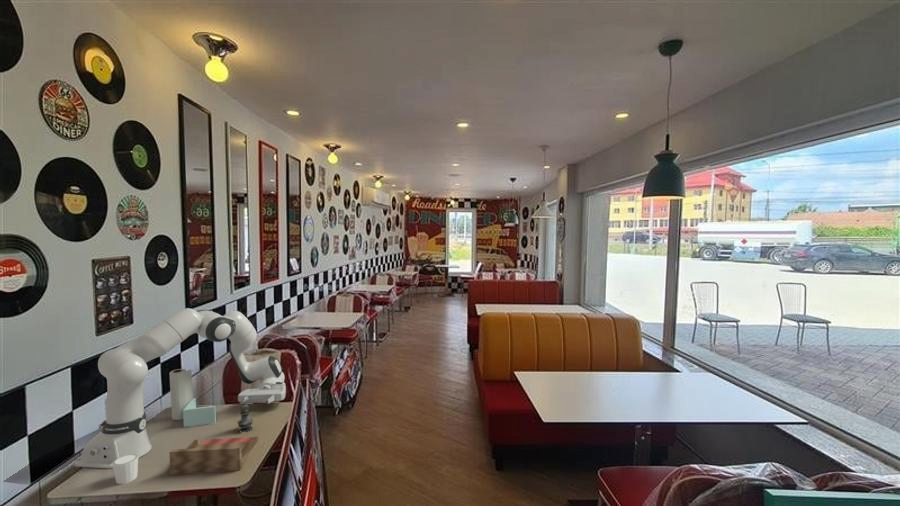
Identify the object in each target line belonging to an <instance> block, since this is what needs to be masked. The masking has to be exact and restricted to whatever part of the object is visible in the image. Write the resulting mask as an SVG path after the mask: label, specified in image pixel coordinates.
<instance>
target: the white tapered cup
mask: <svg viewBox="0 0 900 506" xmlns="http://www.w3.org/2000/svg"><path fill="white" fill-rule="evenodd" d="M112 464H113V468H112V470H113V473H114V478H115V483H116V484H117V485H125V484H128V483H131V482H132V481H134V480H135V479H137V477H138V471H139V470H138V469H139V468H138V466H139V458H138V455H137V454H128V455H124V456H121V457H119V458H117V459H116V460H114V461H113V463H112Z"/></svg>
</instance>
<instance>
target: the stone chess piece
mask: <svg viewBox="0 0 900 506" xmlns="http://www.w3.org/2000/svg"><path fill="white" fill-rule="evenodd" d="M249 410H250V409H249V403H248V404H246V403H245V402H243V404H241V406H240V414H239V415H240V420H238V421H237V425H238V427H239V429H240V428H241V429H240V431H241V432H246V433H249V432H251V431H252V430H253V429H252V428H254V427H253V426H252V424H253V422H254V419H253V418H251V417H250V412H251V411H249ZM250 430H251V431H250ZM248 431H249V432H248Z"/></svg>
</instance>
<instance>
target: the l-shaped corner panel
mask: <svg viewBox="0 0 900 506" xmlns="http://www.w3.org/2000/svg"><path fill="white" fill-rule="evenodd" d="M196 401H197V400H196V397H193V399H192V400H191V401H190V402H189V404H188V405H187V406H186V407H185V408H184V410H183V419H182V420H183V427H184V428H187V427H186V426H191V427H197V426H196V425H199V426H205V425H204V424H207V425H212V424H211V423H215V424H217V420H216V418H217V415H216V405H210V406H202V407H201V406H199V407H197V402H196Z"/></svg>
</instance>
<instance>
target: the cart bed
mask: <svg viewBox="0 0 900 506" xmlns="http://www.w3.org/2000/svg"><path fill="white" fill-rule="evenodd" d="M258 440H259V436H245V437H243V436H242V437H231V438H229V437H228V438H225V437H224V438H209V439H204V441H203V442H202V443H201V444H199V441H198V439H194V440H193V441H192V442H191V443H190V444H189V445H188V446H187V447H186V448H182V449H180V448H178V449H171V450H170V451H169V468H170V475H182V474H184V475H185V474H197V473H198V474H199V473H213V472H214V473H215V472H217V473H218V472H231V471H233V472H234V471H241V470H242V469H243V467H244V466H245V464H246V462H247V461H248V460H249V459H250V457H251V456H252V454H253V452H254V451H255V450H256V449H257V447H258Z"/></svg>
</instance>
